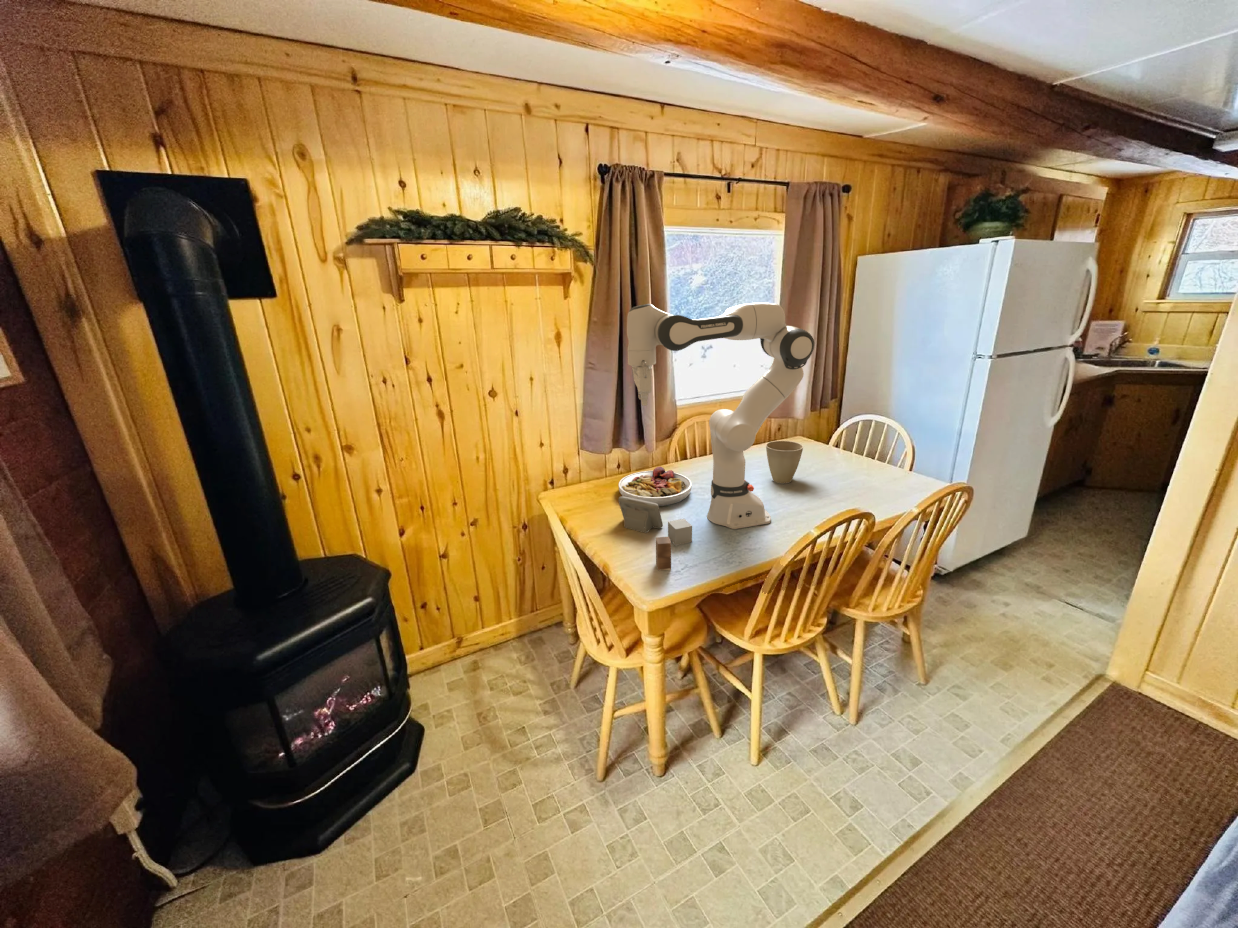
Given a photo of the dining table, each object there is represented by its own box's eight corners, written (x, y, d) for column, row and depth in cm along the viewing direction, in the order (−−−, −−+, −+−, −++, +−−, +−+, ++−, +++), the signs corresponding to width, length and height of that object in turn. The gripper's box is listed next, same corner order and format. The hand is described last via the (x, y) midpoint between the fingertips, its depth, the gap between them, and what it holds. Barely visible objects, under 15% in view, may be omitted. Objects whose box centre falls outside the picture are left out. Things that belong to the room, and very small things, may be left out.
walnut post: (668, 562, 147) (668, 536, 144) (671, 569, 143) (671, 543, 140) (656, 563, 147) (655, 537, 144) (657, 570, 143) (657, 543, 140)
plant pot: (795, 474, 212) (798, 440, 207) (803, 487, 198) (807, 450, 193) (760, 474, 214) (763, 440, 208) (767, 487, 200) (769, 451, 195)
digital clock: (665, 528, 168) (665, 500, 165) (649, 537, 162) (648, 509, 159) (631, 515, 179) (630, 489, 176) (614, 524, 173) (613, 497, 169)
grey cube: (683, 534, 164) (684, 518, 162) (691, 542, 158) (692, 525, 156) (668, 537, 162) (667, 521, 160) (675, 545, 157) (675, 529, 155)
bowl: (689, 511, 181) (689, 492, 178) (612, 507, 187) (611, 489, 184) (693, 482, 209) (693, 465, 206) (626, 479, 215) (625, 463, 212)
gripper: (656, 362, 140) (656, 408, 145) (648, 354, 159) (648, 395, 164) (634, 363, 140) (636, 409, 144) (629, 355, 159) (630, 396, 164)
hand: (642, 402), depth 154 cm, fingers open, 8 cm apart
